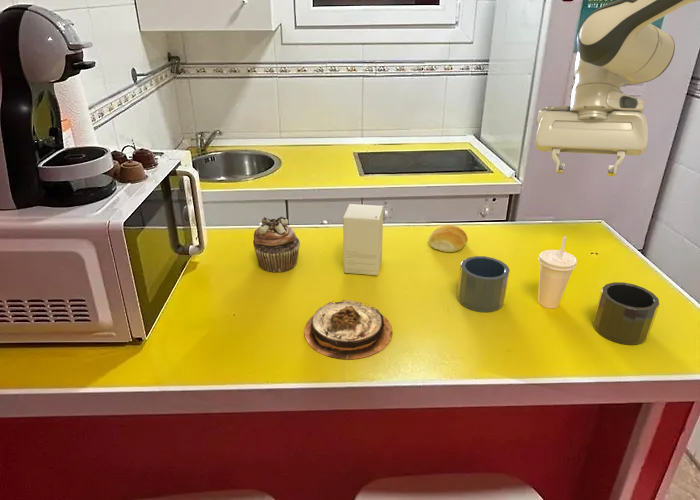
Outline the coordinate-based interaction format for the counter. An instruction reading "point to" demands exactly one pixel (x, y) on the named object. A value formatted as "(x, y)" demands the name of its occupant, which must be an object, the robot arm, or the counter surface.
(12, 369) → the counter surface
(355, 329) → the frosted layer cake
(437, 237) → the bread roll
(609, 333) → the cup
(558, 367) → the counter surface
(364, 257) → the white packaging box
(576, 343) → the counter surface
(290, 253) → the cupcake
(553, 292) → the smoothie
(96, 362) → the counter surface
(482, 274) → the cup
